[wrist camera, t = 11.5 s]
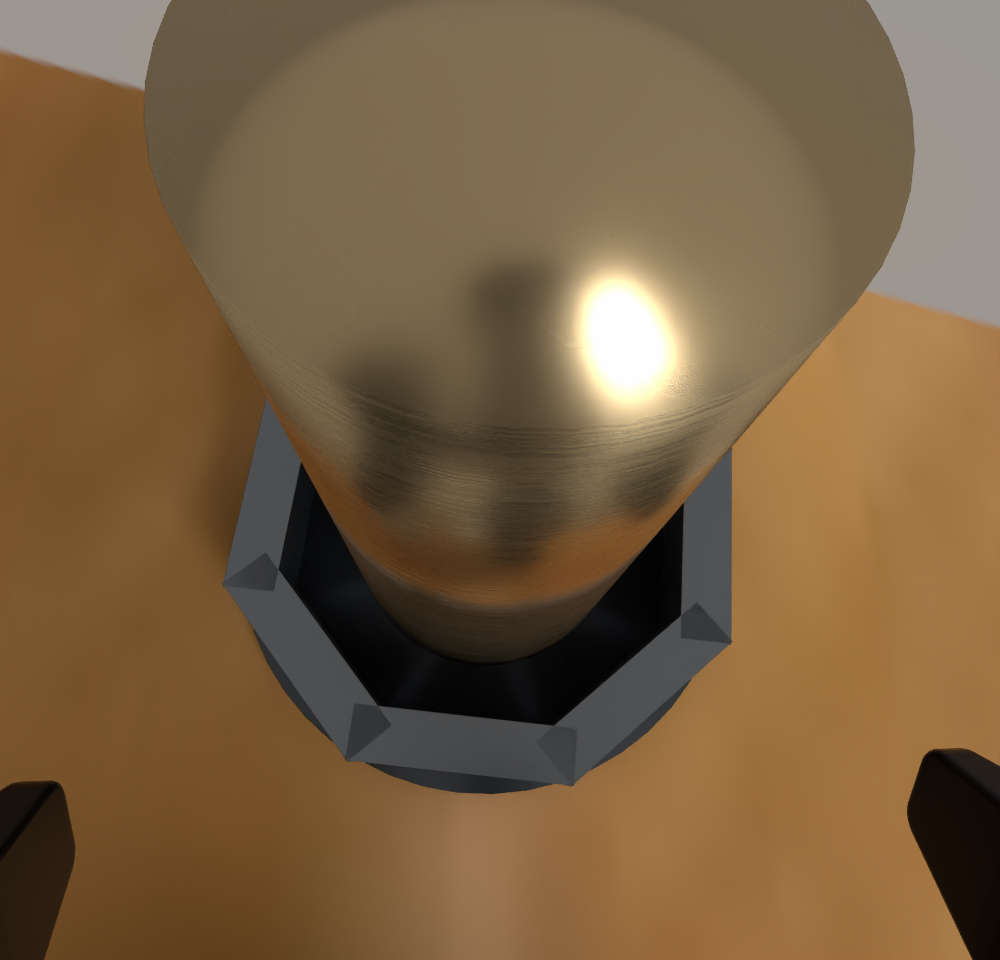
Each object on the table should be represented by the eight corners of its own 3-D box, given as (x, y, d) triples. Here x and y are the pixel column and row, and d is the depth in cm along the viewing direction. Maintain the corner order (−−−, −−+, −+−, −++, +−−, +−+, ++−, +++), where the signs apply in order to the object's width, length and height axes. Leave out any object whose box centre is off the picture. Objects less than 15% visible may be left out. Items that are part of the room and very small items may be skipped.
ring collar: (812, 578, 18) (858, 555, 16) (443, 913, 15) (440, 936, 13) (518, 265, 20) (524, 209, 18) (157, 503, 18) (117, 470, 16)
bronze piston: (634, 639, 17) (1043, 353, 5) (381, 688, 16) (162, 497, 4) (577, 412, 18) (777, -193, 7) (347, 449, 18) (130, -144, 6)
